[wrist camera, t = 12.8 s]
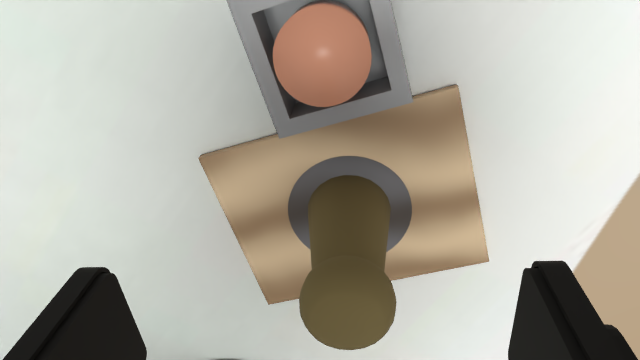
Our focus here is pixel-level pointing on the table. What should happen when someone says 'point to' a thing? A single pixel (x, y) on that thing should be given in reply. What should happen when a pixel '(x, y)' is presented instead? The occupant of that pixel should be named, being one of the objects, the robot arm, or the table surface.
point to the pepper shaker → (348, 264)
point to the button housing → (296, 117)
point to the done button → (322, 54)
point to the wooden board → (365, 161)
